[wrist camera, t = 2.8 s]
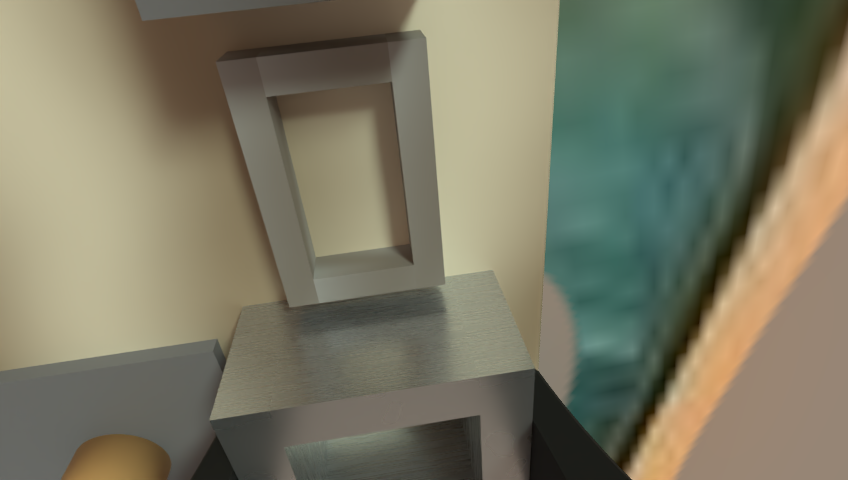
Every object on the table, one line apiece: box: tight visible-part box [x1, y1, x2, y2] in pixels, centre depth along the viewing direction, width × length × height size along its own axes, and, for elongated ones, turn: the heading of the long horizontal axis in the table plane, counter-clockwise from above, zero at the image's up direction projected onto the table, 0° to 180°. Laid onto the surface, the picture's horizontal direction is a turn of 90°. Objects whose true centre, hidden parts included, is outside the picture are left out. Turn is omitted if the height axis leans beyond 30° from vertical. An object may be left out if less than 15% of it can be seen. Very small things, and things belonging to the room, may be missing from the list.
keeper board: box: [0, 0, 559, 371], centre depth 10 cm, size 14×18×3 cm
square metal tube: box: [209, 270, 535, 480], centre depth 11 cm, size 6×6×3 cm
